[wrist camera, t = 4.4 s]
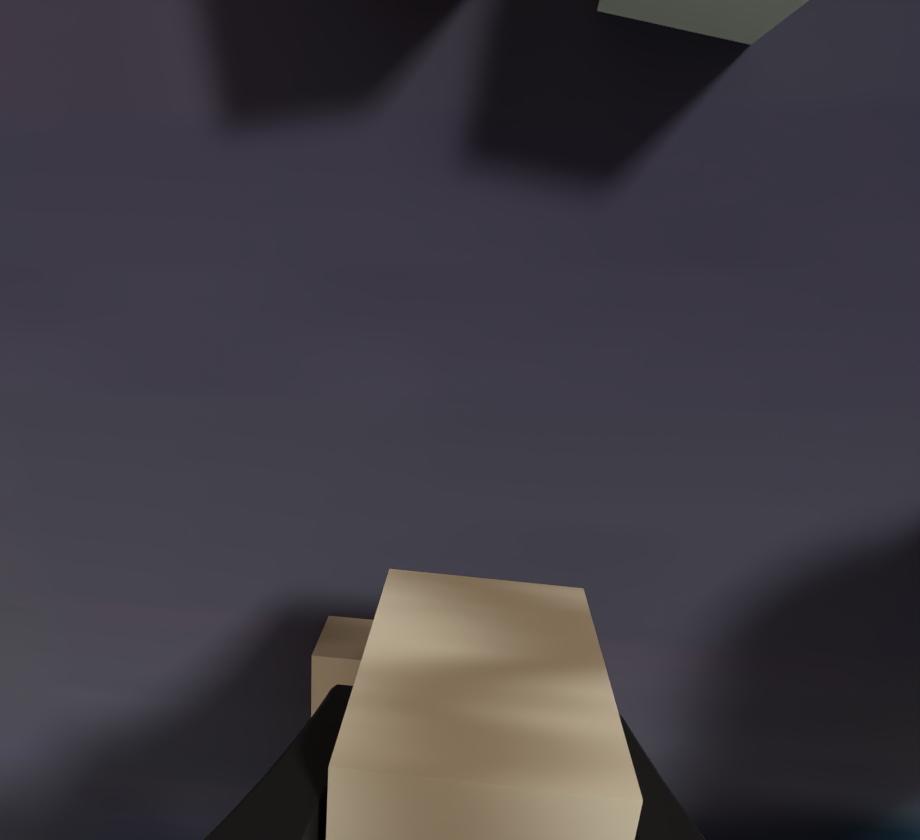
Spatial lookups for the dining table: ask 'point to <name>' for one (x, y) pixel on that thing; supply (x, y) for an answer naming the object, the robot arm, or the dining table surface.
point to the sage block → (708, 15)
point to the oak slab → (337, 655)
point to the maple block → (481, 720)
